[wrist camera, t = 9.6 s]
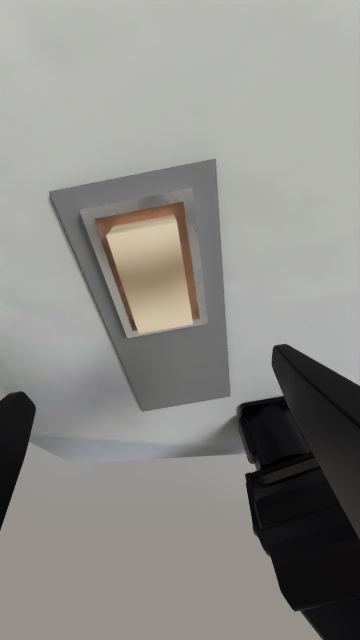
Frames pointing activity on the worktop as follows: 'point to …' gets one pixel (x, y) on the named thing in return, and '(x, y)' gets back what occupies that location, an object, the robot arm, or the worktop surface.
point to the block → (152, 272)
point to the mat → (170, 346)
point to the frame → (141, 209)
